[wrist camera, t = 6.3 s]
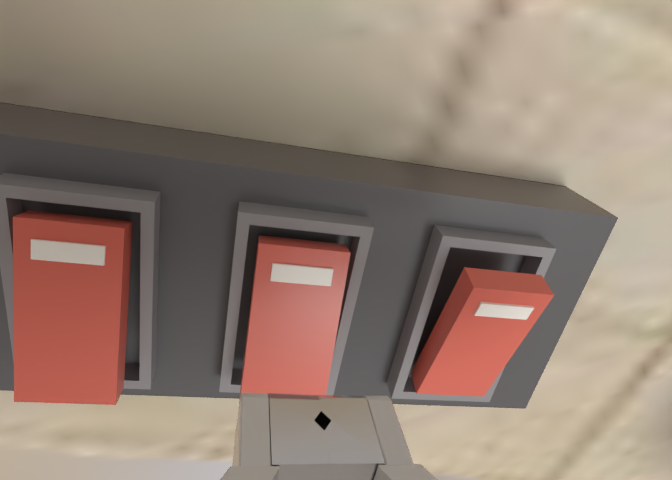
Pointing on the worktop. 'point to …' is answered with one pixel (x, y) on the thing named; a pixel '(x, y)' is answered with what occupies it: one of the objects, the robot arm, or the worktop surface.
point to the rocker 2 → (293, 315)
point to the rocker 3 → (479, 331)
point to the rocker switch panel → (297, 223)
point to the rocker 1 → (70, 307)
